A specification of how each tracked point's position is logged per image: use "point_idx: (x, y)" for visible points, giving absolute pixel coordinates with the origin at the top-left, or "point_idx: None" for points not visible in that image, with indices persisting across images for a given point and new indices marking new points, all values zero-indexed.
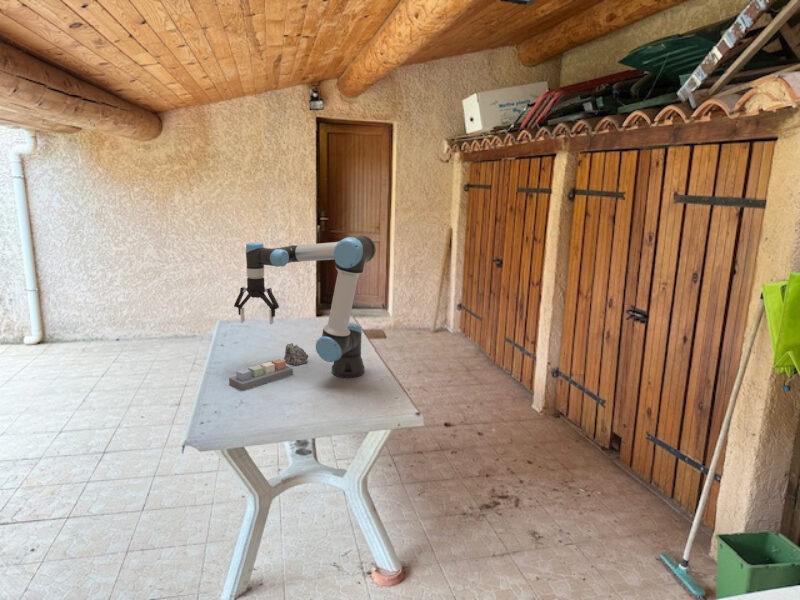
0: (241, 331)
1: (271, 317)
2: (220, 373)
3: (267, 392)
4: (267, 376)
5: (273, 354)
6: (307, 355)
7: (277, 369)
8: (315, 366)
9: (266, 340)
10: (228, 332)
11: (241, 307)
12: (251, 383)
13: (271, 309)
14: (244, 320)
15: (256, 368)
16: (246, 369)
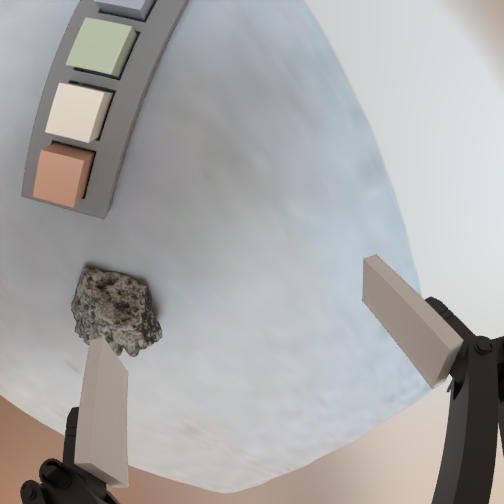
0: (394, 379)
1: (86, 397)
2: (304, 70)
3: (24, 7)
4: (52, 64)
5: (234, 319)
6: (75, 329)
7: (54, 144)
8: (33, 292)
9: (318, 380)
10: None
11: (458, 369)
12: None
13: (71, 475)
14: (366, 302)
15: (88, 38)
16: (126, 4)
